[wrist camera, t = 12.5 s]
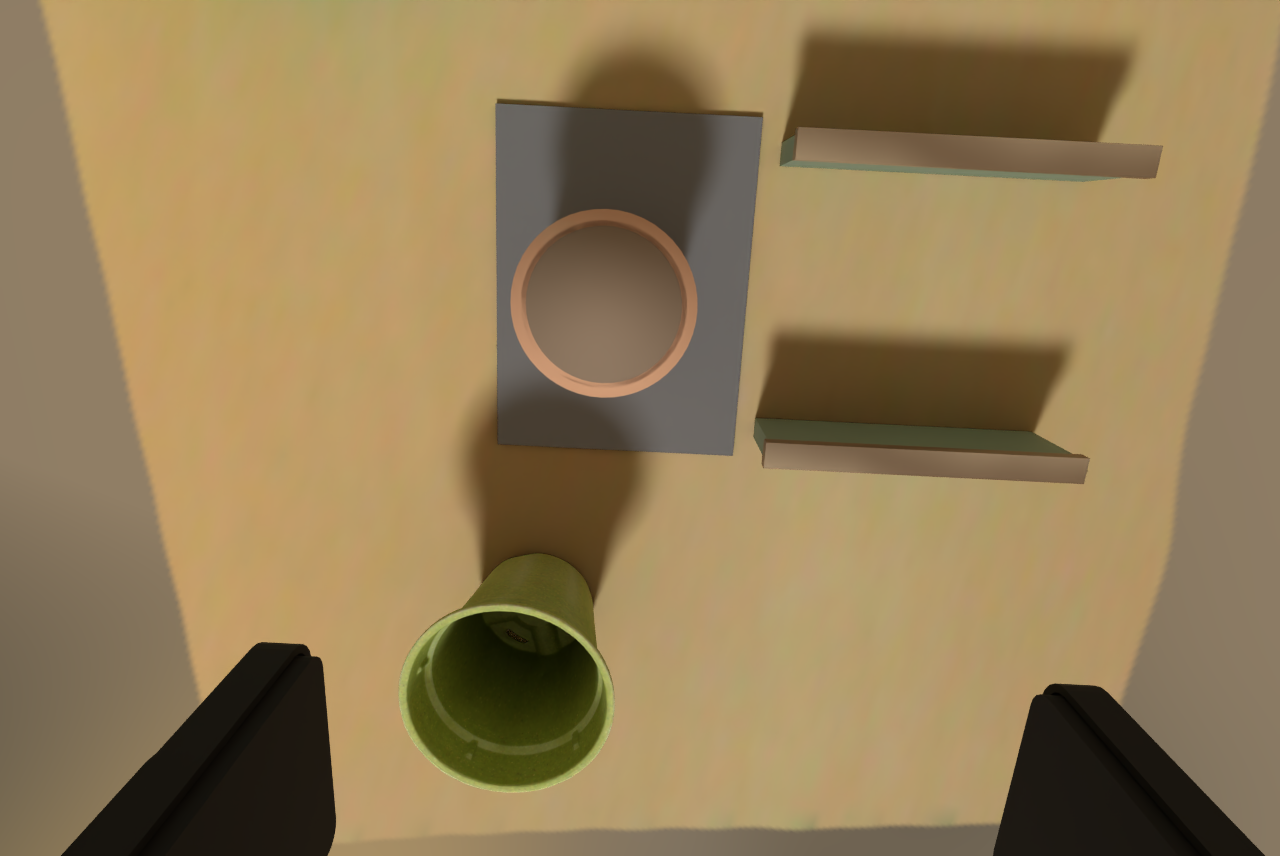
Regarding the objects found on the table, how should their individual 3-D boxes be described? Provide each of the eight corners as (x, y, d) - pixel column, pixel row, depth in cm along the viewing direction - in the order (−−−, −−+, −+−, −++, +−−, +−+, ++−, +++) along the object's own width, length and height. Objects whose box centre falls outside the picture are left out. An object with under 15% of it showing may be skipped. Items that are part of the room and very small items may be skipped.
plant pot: (421, 628, 40) (361, 736, 31) (499, 491, 37) (456, 568, 29) (569, 702, 41) (549, 824, 32) (653, 573, 38) (655, 670, 30)
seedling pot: (536, 208, 33) (509, 204, 26) (691, 214, 33) (703, 212, 26) (537, 360, 35) (511, 394, 28) (683, 366, 35) (692, 401, 28)
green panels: (777, 140, 32) (798, 126, 28) (1092, 156, 32) (1162, 145, 28) (749, 438, 36) (763, 468, 32) (1030, 452, 36) (1083, 483, 32)
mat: (496, 104, 32) (495, 103, 32) (762, 118, 32) (762, 117, 32) (498, 442, 36) (497, 444, 36) (732, 454, 37) (732, 455, 36)
